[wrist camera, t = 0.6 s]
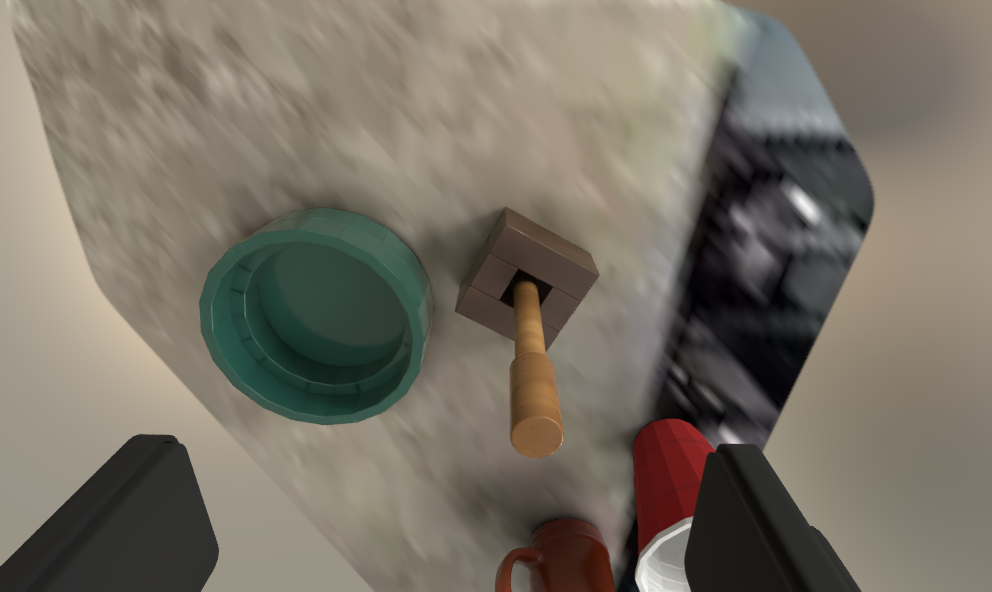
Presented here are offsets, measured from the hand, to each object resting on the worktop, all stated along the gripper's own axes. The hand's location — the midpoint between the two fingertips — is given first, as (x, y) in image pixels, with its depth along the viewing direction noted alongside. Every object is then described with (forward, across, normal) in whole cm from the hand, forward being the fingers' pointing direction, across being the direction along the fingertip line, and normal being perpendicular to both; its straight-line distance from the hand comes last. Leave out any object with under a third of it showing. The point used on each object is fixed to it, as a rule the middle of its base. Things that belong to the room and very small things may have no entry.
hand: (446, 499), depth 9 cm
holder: (+28, -2, +6) cm, 28 cm away
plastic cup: (+28, -15, +23) cm, 39 cm away
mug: (+28, -6, +34) cm, 44 cm away
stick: (+28, -2, +6) cm, 28 cm away
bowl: (+28, +12, +9) cm, 31 cm away
